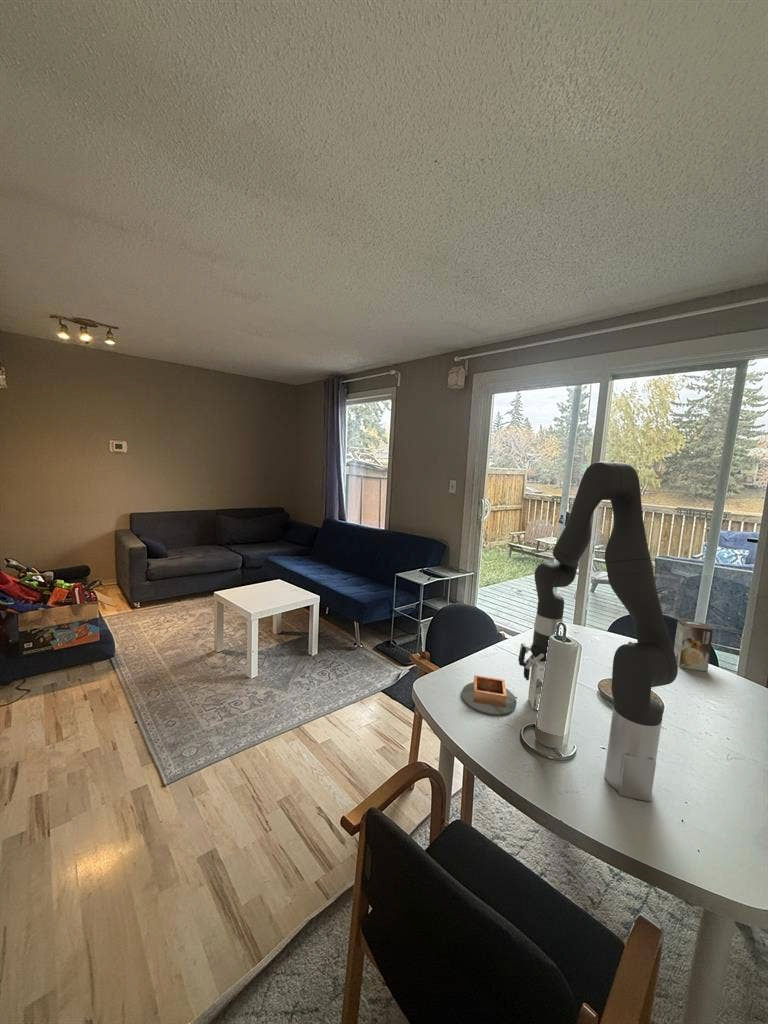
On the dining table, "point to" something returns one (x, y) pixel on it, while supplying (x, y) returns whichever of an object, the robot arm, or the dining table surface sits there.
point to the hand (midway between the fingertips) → (542, 681)
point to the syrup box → (536, 683)
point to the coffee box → (693, 645)
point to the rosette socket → (489, 696)
